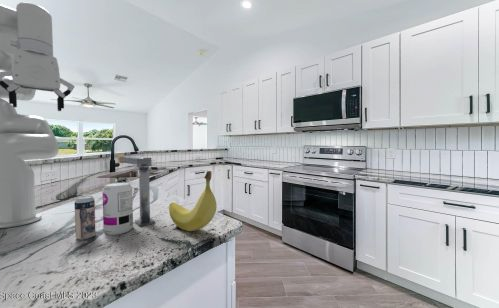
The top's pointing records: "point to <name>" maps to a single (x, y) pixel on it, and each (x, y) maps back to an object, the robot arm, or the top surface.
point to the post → (144, 198)
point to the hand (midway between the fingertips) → (38, 108)
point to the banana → (195, 210)
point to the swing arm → (135, 161)
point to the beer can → (85, 217)
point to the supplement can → (117, 208)
